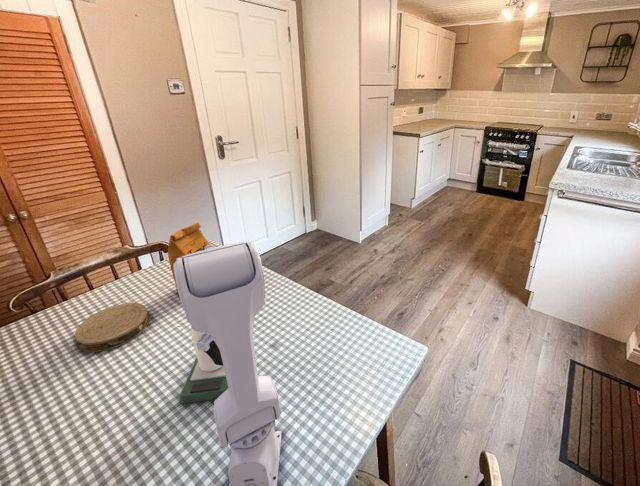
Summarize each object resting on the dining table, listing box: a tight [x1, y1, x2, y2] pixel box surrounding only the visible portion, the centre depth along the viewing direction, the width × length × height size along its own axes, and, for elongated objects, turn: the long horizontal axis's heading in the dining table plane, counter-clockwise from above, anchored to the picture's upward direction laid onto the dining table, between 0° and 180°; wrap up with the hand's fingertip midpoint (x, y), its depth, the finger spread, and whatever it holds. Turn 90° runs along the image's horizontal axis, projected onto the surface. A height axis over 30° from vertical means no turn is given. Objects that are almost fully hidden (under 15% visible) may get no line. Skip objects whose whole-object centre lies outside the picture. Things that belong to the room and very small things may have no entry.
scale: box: [179, 357, 228, 405], centre depth 72 cm, size 13×10×3 cm
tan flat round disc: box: [74, 302, 150, 353], centre depth 85 cm, size 16×16×3 cm
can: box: [190, 327, 222, 372], centre depth 70 cm, size 6×6×12 cm
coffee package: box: [167, 222, 211, 292], centre depth 101 cm, size 10×12×22 cm
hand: (230, 350), depth 70 cm, fingers open, 7 cm apart
